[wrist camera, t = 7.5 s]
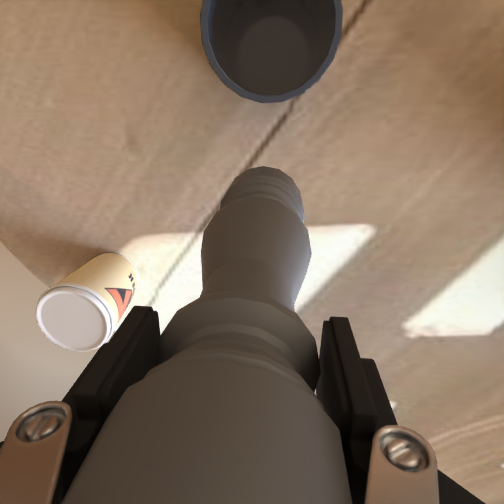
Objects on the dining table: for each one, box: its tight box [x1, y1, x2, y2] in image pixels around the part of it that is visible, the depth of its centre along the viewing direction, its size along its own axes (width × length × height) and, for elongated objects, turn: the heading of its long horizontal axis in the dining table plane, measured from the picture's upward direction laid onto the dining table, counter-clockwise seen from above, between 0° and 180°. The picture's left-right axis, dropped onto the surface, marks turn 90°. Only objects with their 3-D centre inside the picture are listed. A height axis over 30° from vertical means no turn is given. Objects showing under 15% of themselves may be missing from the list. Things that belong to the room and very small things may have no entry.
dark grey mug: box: [200, 0, 343, 103], centre depth 33 cm, size 15×11×13 cm
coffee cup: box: [36, 253, 139, 352], centre depth 47 cm, size 9×9×12 cm
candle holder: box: [60, 166, 352, 504], centre depth 17 cm, size 6×6×25 cm
